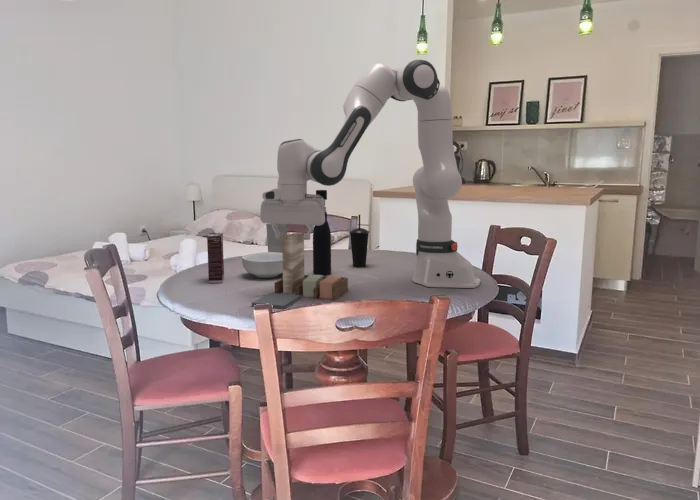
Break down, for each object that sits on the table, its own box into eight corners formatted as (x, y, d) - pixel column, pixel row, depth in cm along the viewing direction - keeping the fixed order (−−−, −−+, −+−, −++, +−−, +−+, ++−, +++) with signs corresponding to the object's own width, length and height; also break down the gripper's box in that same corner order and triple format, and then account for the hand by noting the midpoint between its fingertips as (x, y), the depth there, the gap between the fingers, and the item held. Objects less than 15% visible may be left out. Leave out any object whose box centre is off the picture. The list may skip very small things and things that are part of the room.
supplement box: (223, 283, 181) (221, 236, 178) (208, 283, 180) (206, 236, 177) (224, 277, 189) (222, 232, 186) (210, 277, 188) (208, 232, 185)
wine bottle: (328, 276, 190) (328, 190, 185) (311, 275, 192) (310, 190, 187) (332, 272, 197) (332, 189, 192) (315, 271, 198) (314, 189, 193)
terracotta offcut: (341, 292, 169) (341, 276, 168) (332, 299, 160) (332, 282, 160) (329, 291, 170) (329, 275, 169) (319, 298, 162) (319, 281, 161)
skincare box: (283, 262, 215) (282, 223, 212) (266, 262, 216) (265, 223, 213) (289, 258, 223) (288, 220, 221) (272, 258, 224) (271, 220, 222)
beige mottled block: (304, 288, 173) (303, 232, 170) (292, 296, 163) (291, 237, 160) (296, 287, 174) (295, 232, 171) (283, 295, 164) (281, 236, 161)
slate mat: (300, 298, 161) (300, 295, 160) (284, 309, 149) (284, 305, 149) (269, 295, 163) (269, 292, 163) (251, 306, 152) (251, 302, 152)
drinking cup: (345, 266, 208) (345, 214, 205) (359, 263, 213) (360, 213, 210) (358, 269, 202) (358, 216, 199) (373, 266, 207) (373, 214, 204)
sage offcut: (323, 290, 171) (322, 275, 170) (315, 297, 162) (315, 281, 161) (310, 290, 172) (310, 274, 171) (302, 297, 163) (302, 280, 162)
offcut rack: (347, 289, 171) (347, 277, 170) (334, 300, 158) (334, 287, 158) (291, 285, 176) (291, 273, 176) (274, 295, 164) (274, 282, 163)
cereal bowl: (235, 280, 185) (234, 259, 184) (251, 270, 201) (251, 251, 200) (283, 281, 182) (283, 261, 181) (296, 271, 199) (295, 252, 197)
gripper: (328, 194, 163) (328, 239, 166) (266, 192, 169) (267, 235, 172) (321, 195, 157) (321, 242, 160) (257, 193, 163) (258, 238, 166)
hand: (292, 238), depth 166 cm, fingers open, 8 cm apart
